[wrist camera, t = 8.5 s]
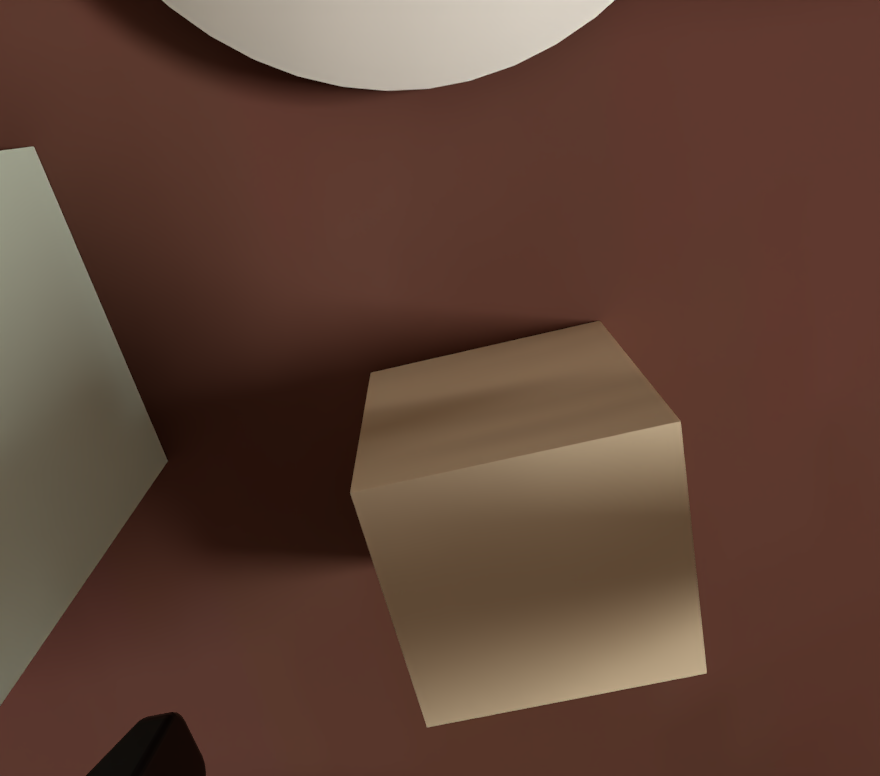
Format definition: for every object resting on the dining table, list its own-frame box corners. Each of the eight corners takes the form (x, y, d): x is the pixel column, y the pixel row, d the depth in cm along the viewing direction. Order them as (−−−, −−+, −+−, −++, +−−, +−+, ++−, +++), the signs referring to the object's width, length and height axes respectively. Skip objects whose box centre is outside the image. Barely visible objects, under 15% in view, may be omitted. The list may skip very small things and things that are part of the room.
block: (627, 513, 13) (706, 673, 10) (424, 555, 14) (427, 728, 10) (598, 319, 12) (680, 421, 8) (370, 371, 12) (349, 492, 8)
